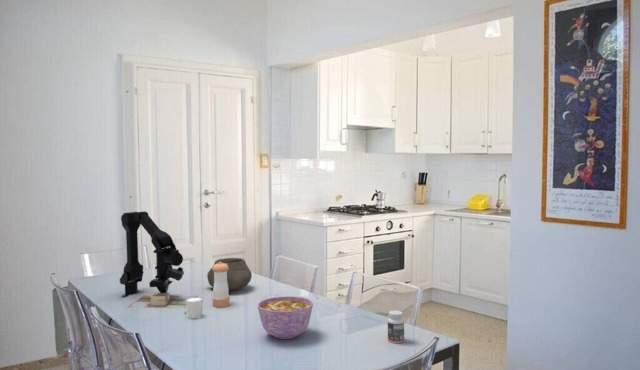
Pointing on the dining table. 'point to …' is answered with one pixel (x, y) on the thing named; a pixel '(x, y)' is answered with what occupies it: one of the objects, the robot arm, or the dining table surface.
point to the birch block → (160, 299)
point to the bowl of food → (285, 315)
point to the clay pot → (233, 273)
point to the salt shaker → (220, 286)
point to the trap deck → (170, 304)
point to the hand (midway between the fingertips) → (164, 298)
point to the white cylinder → (194, 307)
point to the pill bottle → (395, 327)
